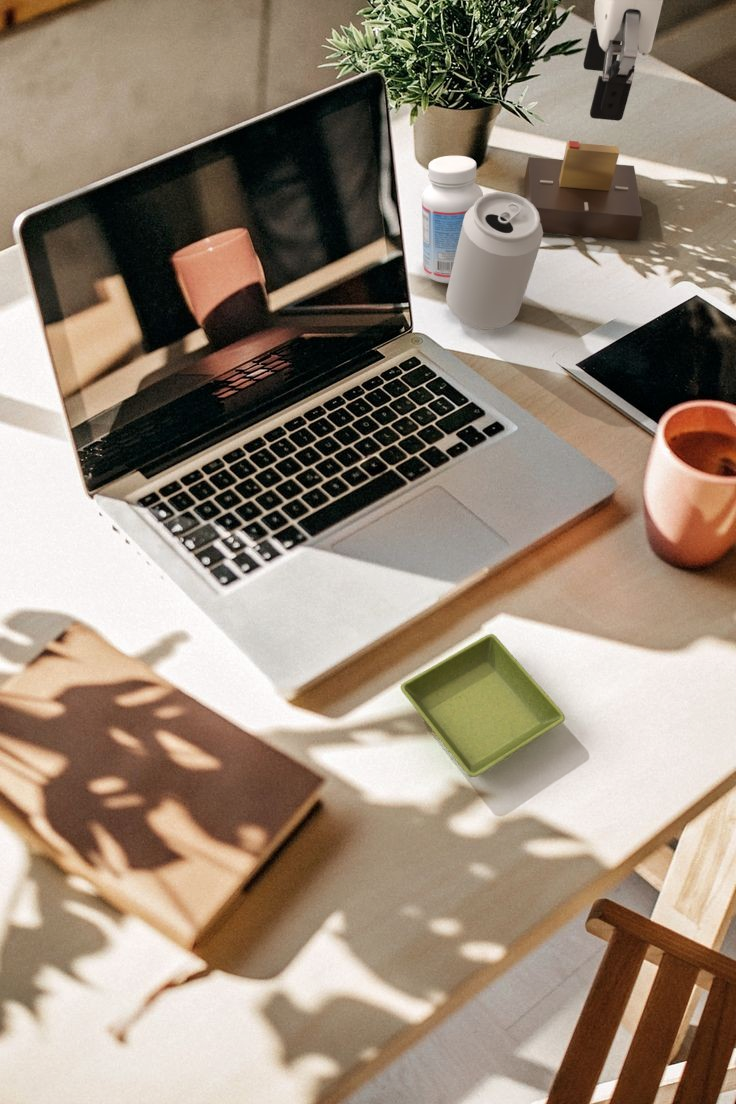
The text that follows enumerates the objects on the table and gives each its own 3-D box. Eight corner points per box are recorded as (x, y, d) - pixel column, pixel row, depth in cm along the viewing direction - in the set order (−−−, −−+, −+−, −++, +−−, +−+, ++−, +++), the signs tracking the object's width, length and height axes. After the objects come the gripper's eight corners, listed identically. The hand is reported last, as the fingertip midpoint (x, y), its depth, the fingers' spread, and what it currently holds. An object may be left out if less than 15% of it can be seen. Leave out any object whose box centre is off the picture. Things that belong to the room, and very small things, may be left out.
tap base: (627, 189, 119) (634, 164, 117) (635, 240, 113) (642, 215, 111) (524, 180, 119) (528, 155, 117) (526, 231, 113) (531, 205, 111)
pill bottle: (493, 269, 107) (497, 160, 100) (457, 291, 104) (458, 180, 96) (447, 254, 110) (447, 148, 103) (410, 275, 107) (408, 166, 100)
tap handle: (608, 183, 114) (618, 144, 111) (609, 191, 113) (619, 151, 110) (558, 179, 114) (567, 139, 111) (559, 186, 113) (568, 146, 110)
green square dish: (562, 732, 75) (568, 718, 73) (468, 792, 71) (471, 779, 70) (488, 646, 79) (492, 631, 77) (395, 700, 76) (397, 685, 74)
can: (429, 306, 103) (449, 211, 93) (474, 269, 106) (498, 173, 96) (488, 347, 101) (516, 254, 91) (532, 308, 104) (563, 214, 94)
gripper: (703, -48, 87) (646, 142, 100) (678, -125, 97) (630, 55, 111) (614, -57, 86) (569, 134, 100) (598, -133, 97) (560, 48, 111)
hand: (601, 93), depth 105 cm, fingers open, 9 cm apart
